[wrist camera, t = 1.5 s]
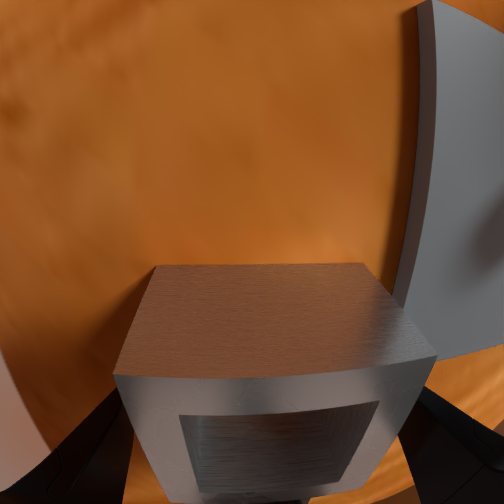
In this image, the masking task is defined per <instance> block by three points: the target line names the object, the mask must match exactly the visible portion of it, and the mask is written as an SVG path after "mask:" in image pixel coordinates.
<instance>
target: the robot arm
mask: <svg viewBox="0 0 504 504" xmlns="http://www.w3.org/2000/svg"><path fill="white" fill-rule="evenodd" d="M397 435H398V437H399V440H400V443H401V446H402V448H403V451H404V454H405V457H406V460H407V462H408V465H409V468H410V471H411V474H412V477H413V480H414V483H415V486H416V489H417V492H418V495H419V498H420V502H421V504H504V436H502V435H500V434H498V433H496V432H494V431H492V430H491V429H489V428H487V427H486V426H484V425H483V424H481V423H479V422H478V421H476V420H475V419H472V417H470V416H469V415H467V414H466V413H464V412H463V411H461V410H460V409H458V408H457V407H455V406H454V405H452V404H451V403H449V402H448V401H446V400H445V399H443V398H442V397H440V396H439V395H437V394H436V393H434V392H433V391H431V390H430V389H428V388H427V387H425V386H424V387H423V389H422V391H421V393H420V395H419V397H418V398H417V400H416V402H415V404H414V406H413V408H412V410H411V412H410V413H409V415H408V417H407V419H406V421H405V422H404V424H403V426H402V427H401V429H400V431H399V433H398V434H397ZM133 437H134V428H133V426H132V424H131V421H130V419H129V416H128V414H127V411H126V409H125V406H124V404H123V401H122V399H121V396H120V393H119V391H118V388H117V387H116V388H115V389H114V390H113V391H112V392H111V393H110V394H109V395H108V396H107V397H106V398H105V399H104V400H103V401H102V402H101V403H100V404H99V405H98V406H97V407H96V408H95V409H94V410H93V411H92V412H91V413H90V414H89V415H88V416H87V417H86V418H85V419H84V420H83V421H82V422H81V423H80V424H79V425H78V426H77V427H76V428H75V429H74V430H73V431H72V432H71V433H70V434H69V435H68V436H67V437H66V438H65V439H64V440H63V441H62V443H61V444H60V445H59V446H58V447H57V448H55V449H54V450H53V451H52V452H51V453H50V455H49V456H47V457H46V458H45V459H44V460H43V461H42V462H41V463H40V464H39V465H37V466H36V467H35V468H34V469H33V470H31V471H30V472H29V473H28V474H26V475H25V476H24V477H22V478H21V479H20V480H18V481H17V482H16V483H15V484H13V485H12V486H11V487H9V488H8V489H6V490H4V491H1V492H0V504H122V501H123V495H124V489H125V483H126V478H127V473H128V467H129V462H130V457H131V452H132V447H133ZM309 500H310V498H305V499H298V500H289V501H280V502H268V503H253V504H308V502H309Z"/></svg>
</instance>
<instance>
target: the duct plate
mask: <svg viewBox="0 0 504 504" xmlns="http://www.w3.org/2000/svg"><path fill="white" fill-rule="evenodd" d="M417 16H418V31H419V52H420V100H419V123H418V138H417V150H416V161H415V170H414V179H413V186H412V194H411V201H410V208H409V214H408V220H407V226H406V232H405V237H404V242H403V248H402V253H401V257H400V262H399V267H398V271H397V276H396V280H395V284H394V289H393V293H392V297H393V298H394V300H395V301H396V302H397V303H398V304H399V306H400V307H401V308H402V309H403V311H404V312H405V313H406V314H407V316H408V317H409V318H410V319H411V321H412V322H413V323H414V324H415V326H416V327H417V328H418V329H419V331H420V332H421V333H422V335H423V336H424V337H425V338H426V340H427V341H428V342H429V344H430V345H431V346H432V348H433V349H434V350H435V352H436V353H437V354H438V357H437V359H436V361H441V360H445V359H449V358H453V357H457V356H461V355H465V354H469V353H473V352H476V351H480V350H483V349H487V348H490V347H494V346H497V345H500V344H503V343H504V34H503V33H501V32H499V31H498V30H496V29H494V28H492V27H491V26H489V25H487V24H485V23H483V22H482V21H480V20H478V19H476V18H474V17H472V16H470V15H468V14H466V13H464V12H462V11H460V10H458V9H456V8H454V7H452V6H449V5H447V4H445V3H443V2H440V1H438V0H426V1H424V2H422V3H420V4H417ZM436 361H435V362H436Z"/></svg>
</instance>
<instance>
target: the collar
mask: <svg viewBox="0 0 504 504" xmlns="http://www.w3.org/2000/svg"><path fill="white" fill-rule="evenodd" d="M437 357H438V354H437V353H436V352H435V350H434V349H433V348H432V346H431V345H430V344H429V342H428V341H427V340H426V338H425V337H424V336H423V335H422V333H421V332H420V331H419V329H418V328H417V327H416V326H415V324H414V323H413V322H412V321H411V319H410V318H409V317H408V316H407V314H406V313H405V312H404V311H403V309H402V308H401V307H400V306H399V304H398V303H397V302H396V301H395V300H394V298H393V297H392V296H391V295H390V294H389V292H388V291H387V290H386V289H385V288H384V286H383V285H382V284H381V283H380V282H379V280H378V279H377V278H376V277H375V276H374V275H373V273H372V272H371V271H370V270H369V269H368V268H367V266H366V265H365V264H364V263H345V264H288V265H193V266H156V268H155V270H154V273H153V275H152V277H151V279H150V282H149V284H148V286H147V289H146V291H145V293H144V295H143V298H142V300H141V303H140V305H139V307H138V310H137V312H136V315H135V317H134V319H133V322H132V324H131V327H130V329H129V332H128V334H127V337H126V339H125V342H124V345H123V347H122V350H121V352H120V355H119V358H118V360H117V363H116V366H115V368H114V371H113V377H114V380H115V382H116V385H117V388H118V391H119V393H120V396H121V399H122V401H123V404H124V406H125V409H126V411H127V414H128V416H129V419H130V421H131V424H132V426H133V428H134V431H135V433H136V435H137V438H138V440H139V442H140V444H141V446H142V449H143V451H144V453H145V455H146V457H147V459H148V461H149V463H150V465H151V467H152V469H153V471H154V473H155V475H156V477H157V479H158V481H159V483H160V485H161V487H162V489H163V490H164V492H165V494H166V496H167V498H168V499H169V501H170V502H175V503H190V504H253V503H268V502H280V501H289V500H298V499H305V498H312V497H319V496H324V495H330V494H335V493H341V492H345V491H350V490H355V489H359V488H362V487H363V485H364V484H365V483H366V481H367V480H368V478H369V477H370V476H371V474H372V473H373V471H374V470H375V468H376V467H377V466H378V464H379V463H380V461H381V460H382V458H383V457H384V455H385V453H386V452H387V450H388V449H389V447H390V446H391V444H392V442H393V441H394V439H395V438H396V436H397V434H398V433H399V431H400V429H401V427H402V426H403V424H404V422H405V421H406V419H407V417H408V415H409V413H410V412H411V410H412V408H413V406H414V404H415V402H416V400H417V398H418V397H419V395H420V393H421V391H422V389H423V387H424V385H425V383H426V381H427V378H428V376H429V374H430V372H431V370H432V368H433V366H434V363H435V361H436V359H437Z"/></svg>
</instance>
